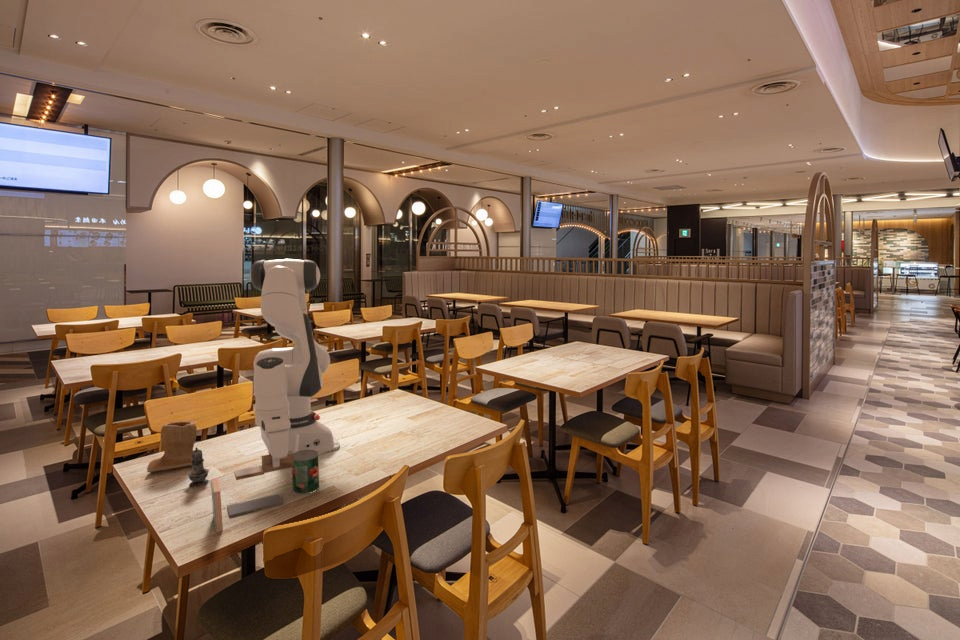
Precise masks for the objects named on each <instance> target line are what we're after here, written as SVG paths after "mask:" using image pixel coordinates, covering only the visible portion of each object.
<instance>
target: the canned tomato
mask: <svg viewBox="0 0 960 640" xmlns="http://www.w3.org/2000/svg"><path fill="white" fill-rule="evenodd" d="M319 471H320V469H319V455H318V452H317V451H315V450H302V451H298V452H295V453H294V467H291V480H292V492H293V493H294V494H296V493H297V494H296V495H308V494H307V493H309V494H311V493H310V492H312V493H314V492H313V491H315V490H316V491H317V489H318V488H319V489H320V473H319ZM319 489H318V490H319ZM316 491H315V492H316Z"/></svg>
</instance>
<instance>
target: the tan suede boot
mask: <svg viewBox="0 0 960 640" xmlns="http://www.w3.org/2000/svg"><path fill="white" fill-rule="evenodd" d="M197 434H198V433H197V424H196V423H195V422H194V421H186V420H185V421H177V422H176V421H175V422H168V423H164V424H163V425H162V427H161V430H160V439H161V443H162V448H163V451H164V452H163V453H164V454H163V455H162V456H161V457H159V458H154V459H153V460H151V461H150V462H148V465H147V467H146V468H147V469H146V470H147V473H154V472H162V471H167V470H173V469H179V468H180V469H181V468H185V467H189V466H192V463H191V461H192V452H193V451H194V445H195V443H196V439H197Z"/></svg>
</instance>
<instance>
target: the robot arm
mask: <svg viewBox="0 0 960 640" xmlns="http://www.w3.org/2000/svg"><path fill="white" fill-rule="evenodd" d="M249 279H250V282H251V285H252V287H253V288H254V289H256V290H257V291H260V292H261V295H260V312H261V316H262V317H263V319H264V321H266V322H267V323H268V324H269V325H270V326H273V327H274V329H275V330H274V331H275V332H276V333H277V334H278V335H279V336H281V337H283V338H284V339H288V340H290V341H292V342H293V344H294V346H291V347H273V348H269V349H268V348H267V349H264V350H261V351H259V352H258V353H257V354H256V355H255V357H254V359H253V371H254V372H253V376H252V391H253V394H254V397H255V404H254V419H255V420H254V423H255V424H254V425H255V426H257V427H259V428H260V435H261V439H262V441H263V443H264V445H265V447H266V449H267V451H268V452H267V453H268V455H270V454H271V456H272V466H273V467H274V468H275V467H279V466H280V459H283V458H286V457H287V455H288V451H290V450H292V452H293V453H295V452H298V451H302V450H315V451H317V452H318V454H319V455H322V454H321V453H323V454H325V453H324V452H326V453H328V452H327V451H329V452H332V451H331V450H333V451H336V450H338V449H339V448H340V447H339V446H341V445H340V441H339V440H338V439H337V438H336V437H334V435H333V432H332V431H331V429H330V427H328V426H327V425H326V424H324V423H322V422H320V419H321V415H319V414H318V413H316V412H315V411H313V410H311V408H312V407H311V398H313V397H314V396H316V394H318V393H319V392H320V391H321V390H322V389H323V388H322V387H323V383H324V382H323V381H324V380H323V374H325V373H326V372H327V371H328V369H329V368H330V365H331V356H330V353H329V352H328V351H327V349H326V348H324V347H323V346H322V345H320V344H319V343H318V342H317V341H316V340H315V338H314V333H313V329H312V328H313V327H312V323H311V320H310V317H309V315H308V309H307V308H308V303H307V297H306V296H307V295H306V294H310V292H311V291H314V290H315V289H316V288H317V287H318V285H319V282H320V279H321V272H320V268H319V267H318V264H317V263H316V262H315V261H314V260H310V259H304V260H303V259H296V258H294V259H293V258H284V259H269V260H265V259H262V260H257V261H255V262H253V264H252V265H251V266H250V272H249ZM335 449H336V450H335Z"/></svg>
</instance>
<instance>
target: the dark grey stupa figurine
mask: <svg viewBox="0 0 960 640" xmlns="http://www.w3.org/2000/svg"><path fill="white" fill-rule="evenodd" d="M204 461H205V459H204V458H203V450H201V449H199V448H198V447H195V449H193V452H192V461H191V463H192V465H191V471H189V472H188V473H187V477H188V479H189V481H191V482H190V483H189V485H188V486H189V487H190V488H200V487H203V486H205V485H207V484H208V483H209V480H208V479H206V478H208V475H209V472H210V470H209V469H207V468H205V467H204Z"/></svg>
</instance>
